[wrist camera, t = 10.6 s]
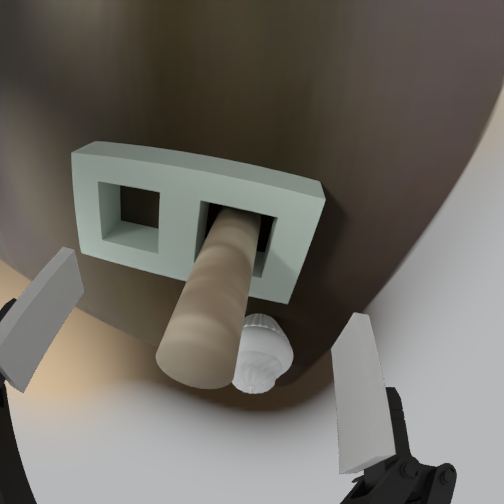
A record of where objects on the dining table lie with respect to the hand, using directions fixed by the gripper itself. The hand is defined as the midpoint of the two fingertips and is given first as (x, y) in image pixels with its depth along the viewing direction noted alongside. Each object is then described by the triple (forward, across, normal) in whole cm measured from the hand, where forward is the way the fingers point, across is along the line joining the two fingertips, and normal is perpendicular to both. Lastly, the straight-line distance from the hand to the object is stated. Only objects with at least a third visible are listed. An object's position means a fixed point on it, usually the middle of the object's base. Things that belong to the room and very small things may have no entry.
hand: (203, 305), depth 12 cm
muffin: (+9, +4, -10) cm, 14 cm away
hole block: (+9, -3, 0) cm, 9 cm away
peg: (+9, 0, 0) cm, 9 cm away
